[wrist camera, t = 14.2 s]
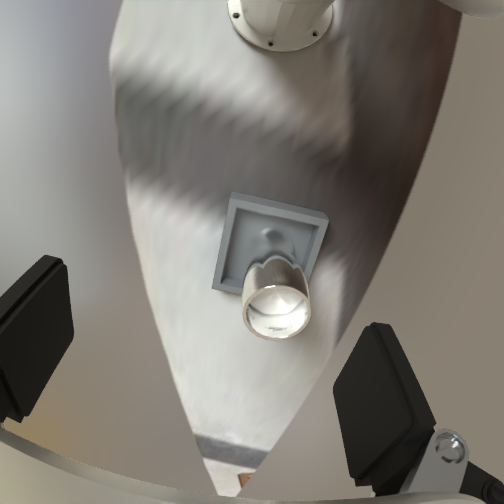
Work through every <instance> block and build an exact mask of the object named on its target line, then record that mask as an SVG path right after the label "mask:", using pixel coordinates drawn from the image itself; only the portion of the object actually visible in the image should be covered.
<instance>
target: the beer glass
mask: <svg viewBox="0 0 504 504" xmlns="http://www.w3.org/2000/svg"><path fill="white" fill-rule="evenodd" d="M248 252H249V256H250V258H251V260H250V262H249V265H248V267H247V269H246V272H245V275H244V279H243V285H242V307H243V320H244V323H245V325H246V326H247V328H248V329H249V330H250V331H251V332H252V333H253V334H255V335H256V336H258V337H261V338H263V339H267V340H284V339H288V338H290V337H293V336H295V335H297V334H298V333H300V332H301V331H302V330H303V329H304V328H305V327H306V325H307V324H308V322H309V320H310V317H311V306H310V298H309V290H308V285H307V282H306V278H305V275H304V273H303V271H302V269H301V267H300V265H299V264H298V262H297V261H296V259H295V258H294V257H293V242H292V240H291V238H290V236H289V235H288V234H287V233H286V232H285V231H283V230H281V229H278V228H274V227H269V228H264V229H261V230H259V231H258V232H256V233H255V234H254V235H253V236H252V238H251V239H250V241H249V245H248Z"/></svg>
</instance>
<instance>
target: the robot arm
mask: <svg viewBox="0 0 504 504" xmlns="http://www.w3.org/2000/svg"><path fill="white" fill-rule="evenodd" d="M334 1H335V0H228V13H229V17H230V19H231V22H232V24H233V26H234V27H235V29H236V30H237V32H238V33H239V34H240V35H241V36H242V37H243V38H244V39H246V40H247V41H249V42H250V43H252V44H253V45H256V46H258V47H260V48H263V49H267V50H270V51H278V52H288V51H295V50H300V49H303V48H305V47H308V46H310V45H311V44H313V43H314V42H316V41H317V40H319V39H320V38H321V37H322V36H323V35H324V33H325V32H326V31H327V29H328V27H329V25H330V23H331V20H332V16H333V5H332V3H333V2H334ZM439 1H440V2H442V3H444V4H446V5H448V6H450V7H452V8H454V9H456V10H458V11H460V12H462V13H465V14H468V15H470V16H474V17H479V18H495V17H499V16H502V15H504V0H439ZM235 16H238V17H239V18H237V19H235ZM313 33H315V34H316V36H313V35H312V34H313ZM269 43H272V44H273V45H272V46H269ZM73 336H74V327H73V320H72V313H71V304H70V295H69V284H68V272H67V266H66V265H65V264H63V261H62V259H60V258H57V257H53V256H49V255H44V256H43V257H42V258H40V259H39V260H38V261H37V262H36V263H35V264H34V265H33V266H32V267H31V268H30V269H29V270H27V271H26V272H25V273H24V274H23V275H22V276H21V277H20V278H19V279H18V280H17V281H16V282H15V283H14V284H13V285H12V286H11V287H10V288H9V289H8V290H7V291H6V292H5V293H4V294H3V295H2V296H1V297H0V504H504V485H503V483H502V482H501V481H499V480H498V479H496V478H495V477H493V476H492V475H490V474H488V473H487V472H485V471H483V470H482V469H480V468H479V467H477V466H476V465H474V464H472V463H471V462H469V461H468V459H469V449H468V446H467V443H466V441H465V440H464V439H463V437H462V436H461V435H460V434H458V433H457V432H456V431H453V430H450V429H445V428H443V429H439V430H437V431H436V432H435V430H434V428H433V426H434V425H435V424H436V421H435V419H434V416H433V414H432V412H431V409H430V407H429V405H428V403H427V400H426V398H425V396H424V393H423V391H422V389H421V387H420V385H419V382H418V380H417V379H416V376H415V374H414V372H413V370H412V367H411V365H410V363H409V361H408V359H407V357H406V355H405V353H404V351H403V349H402V347H401V345H400V343H399V341H398V339H397V337H396V335H395V333H394V331H393V329H392V327H391V326H390V325H389V324H383V323H376V322H373V323H371V324H370V326H366V327H365V328H364V330H363V332H362V334H361V336H360V337H359V339H358V341H357V343H356V345H355V347H354V349H353V351H352V353H351V354H350V356H349V358H348V360H347V362H346V364H345V365H344V367H343V369H342V371H341V372H340V374H339V376H338V378H337V379H336V381H335V383H334V386H333V395H334V399H335V404H336V409H337V413H338V418H339V423H340V428H341V433H342V438H343V443H344V448H345V453H346V458H347V463H348V469H349V474H350V476H351V477H352V478H354V480H355V485H356V486H369V485H372V489H373V492H372V493H371V495H370V497H369V498H358V499H343V500H323V501H281V500H260V499H247V498H236V497H227V496H218V495H211V494H204V493H197V492H192V491H186V490H180V489H175V488H170V487H165V486H161V485H156V484H152V483H148V482H144V481H140V480H136V479H132V478H128V477H125V476H121V475H118V474H115V473H111V472H108V471H105V470H102V469H99V468H95V467H92V466H89V465H87V464H84V463H81V462H78V461H76V460H73V459H70V458H68V457H65V456H62V455H60V454H58V453H55V452H53V451H50V450H48V449H46V448H43V447H41V446H39V445H37V444H35V443H32V442H30V441H28V440H26V439H24V438H22V437H19V436H17V435H15V434H13V433H11V432H9V431H7V430H5V426H4V420H5V418H6V417H9V418H11V419H13V420H15V421H17V422H19V423H21V422H22V420H23V418H24V416H26V417H27V416H29V415H30V413H31V411H32V409H33V408H34V406H35V404H36V402H37V400H38V398H39V397H40V395H41V393H42V391H43V389H44V388H45V386H46V384H47V382H48V381H49V379H50V377H51V375H52V374H53V372H54V370H55V369H56V367H57V365H58V363H59V362H60V360H61V358H62V357H63V355H64V353H65V352H66V350H67V349H68V347H69V345H70V343H71V342H72V340H73Z"/></svg>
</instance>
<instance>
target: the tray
mask: <svg viewBox="0 0 504 504" xmlns="http://www.w3.org/2000/svg"><path fill="white" fill-rule="evenodd" d="M328 223H329V219H328V218H327V216H326V214H325V213H324V212H320V211H316V210H311V209H307V208H303V207H299V206H295V205H291V204H286V203H282V202H278V201H273V200H269V199H264V198H260V197H255V196H251V195H246V194H242V193H237V192H231V196H230V201H229V205H228V210H227V215H226V220H225V224H224V229H223V234H222V239H221V244H220V249H219V254H218V259H217V264H216V269H215V274H214V279H213V284H212V289H216V290H221V291H226V292H231V293H236V294H241V295H242V285H243V279H244V275H245V272H246V269H247V267H248V265H249V262H250V260H251V258H250V256H249V252H248V245H249V241H250V239H251V238H252V236H253V235H254V234H255V233H256V232H258V231H259V230H261V229H264V228H269V227H274V228H278V229H281V230H283V231H285V232H286V233H287V234H288V235H289V236H290V238H291V240H292V242H293V257H294V258H295V259H296V261H297V262H298V264H299V265H300V267H301V269H302V271H303V273H304V275H305V278H306V282H307V284H308V282H309V279H310V276H311V273H312V270H313V267H314V264H315V262H316V259H317V256H318V253H319V250H320V247H321V244H322V241H323V238H324V235H325V232H326V229H327V226H328Z"/></svg>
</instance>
